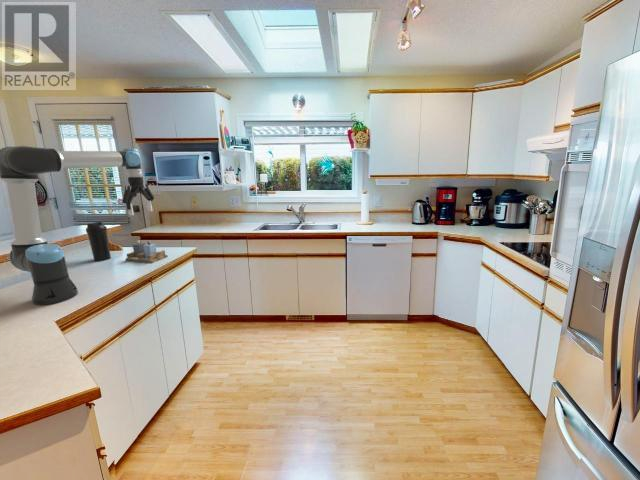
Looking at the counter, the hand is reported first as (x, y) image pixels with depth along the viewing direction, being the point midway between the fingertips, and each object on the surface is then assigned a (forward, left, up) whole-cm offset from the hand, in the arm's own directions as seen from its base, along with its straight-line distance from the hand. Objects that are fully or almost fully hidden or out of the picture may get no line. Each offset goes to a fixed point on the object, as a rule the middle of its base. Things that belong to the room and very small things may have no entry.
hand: (141, 213), depth 176 cm
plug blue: (0, -2, -27) cm, 27 cm away
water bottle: (-6, +29, -29) cm, 41 cm away
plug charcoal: (0, +6, -27) cm, 28 cm away
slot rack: (+1, +2, -29) cm, 29 cm away
